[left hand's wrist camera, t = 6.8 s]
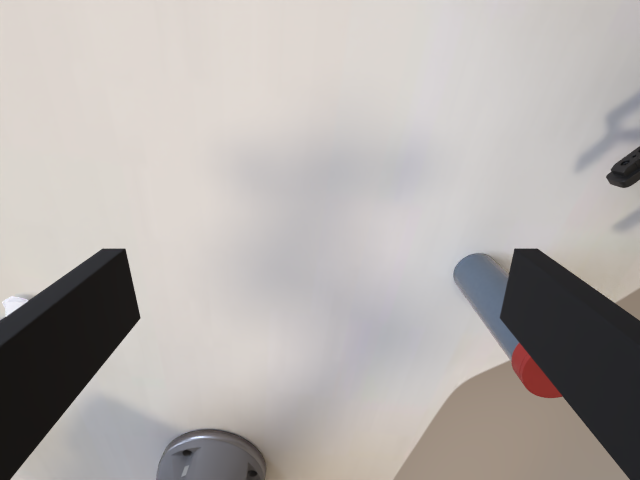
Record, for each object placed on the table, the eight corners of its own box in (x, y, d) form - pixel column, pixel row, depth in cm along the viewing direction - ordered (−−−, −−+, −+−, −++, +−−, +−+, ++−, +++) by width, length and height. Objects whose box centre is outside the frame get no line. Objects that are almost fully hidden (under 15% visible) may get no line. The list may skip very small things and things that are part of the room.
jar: (451, 257, 41) (522, 345, 27) (496, 249, 40) (591, 333, 26) (455, 295, 43) (522, 395, 28) (497, 287, 42) (587, 385, 28)
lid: (510, 333, 28) (521, 347, 26) (583, 320, 27) (599, 334, 26) (511, 386, 30) (522, 403, 28) (580, 376, 29) (594, 391, 28)
